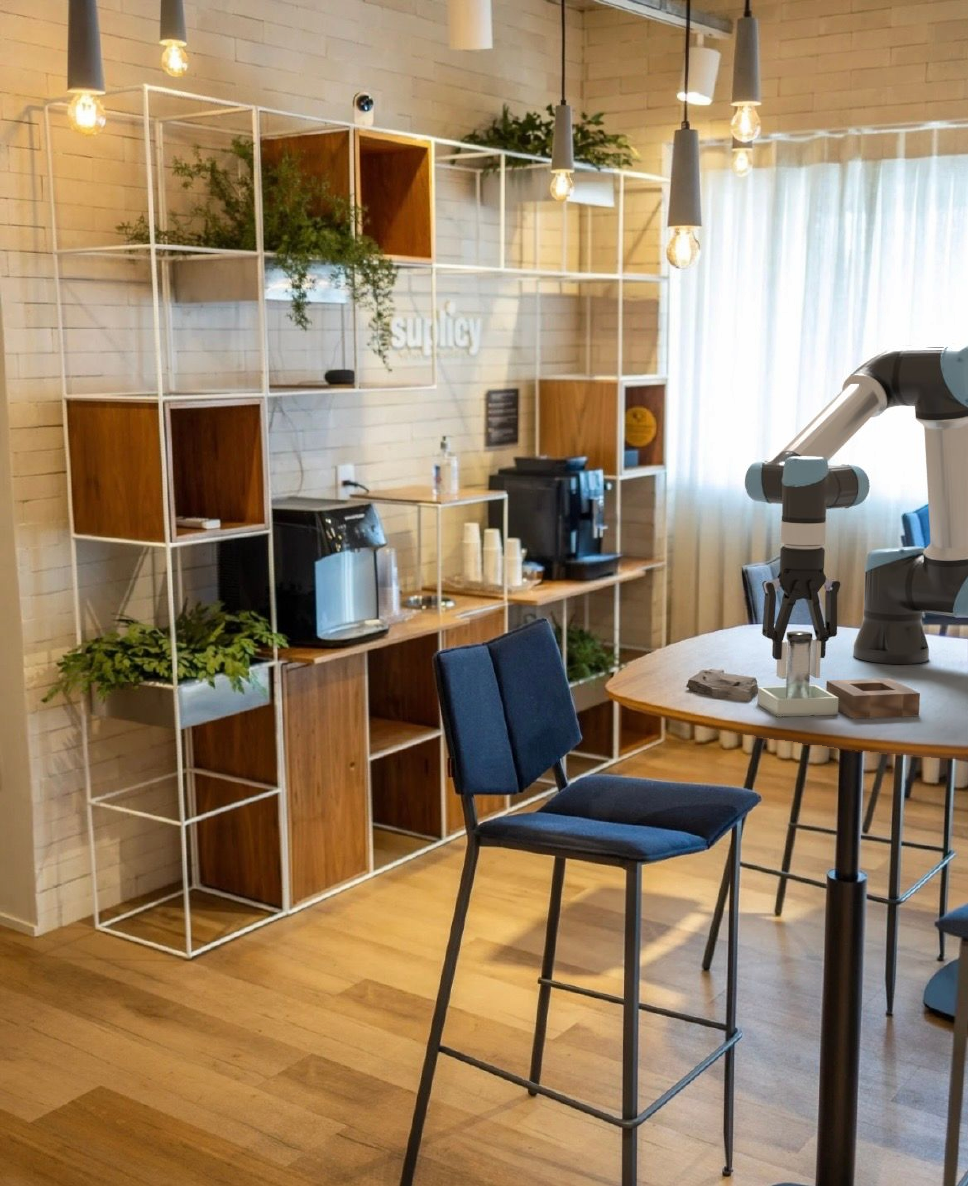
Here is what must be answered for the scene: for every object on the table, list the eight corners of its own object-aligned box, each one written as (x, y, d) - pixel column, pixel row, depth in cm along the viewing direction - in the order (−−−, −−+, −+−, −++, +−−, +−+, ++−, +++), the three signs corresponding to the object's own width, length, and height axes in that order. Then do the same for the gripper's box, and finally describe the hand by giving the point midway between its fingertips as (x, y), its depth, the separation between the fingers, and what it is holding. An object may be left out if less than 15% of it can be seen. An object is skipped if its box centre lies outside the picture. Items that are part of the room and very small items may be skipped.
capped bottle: (804, 702, 245) (806, 630, 243) (813, 708, 241) (816, 635, 239) (780, 703, 245) (783, 631, 243) (789, 709, 240) (792, 636, 238)
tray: (815, 701, 249) (816, 685, 248) (837, 714, 239) (838, 697, 238) (757, 703, 247) (757, 687, 247) (777, 717, 237) (777, 700, 237)
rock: (679, 694, 256) (680, 673, 255) (701, 685, 263) (702, 665, 262) (747, 704, 248) (747, 683, 247) (768, 695, 255) (768, 674, 255)
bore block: (888, 699, 250) (889, 678, 249) (918, 715, 238) (920, 693, 237) (825, 702, 248) (826, 680, 247) (853, 718, 236) (854, 695, 235)
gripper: (844, 542, 243) (839, 670, 247) (744, 544, 241) (740, 674, 244) (862, 547, 236) (856, 679, 240) (758, 549, 233) (754, 683, 237)
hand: (798, 676), depth 242 cm, fingers open, 5 cm apart
